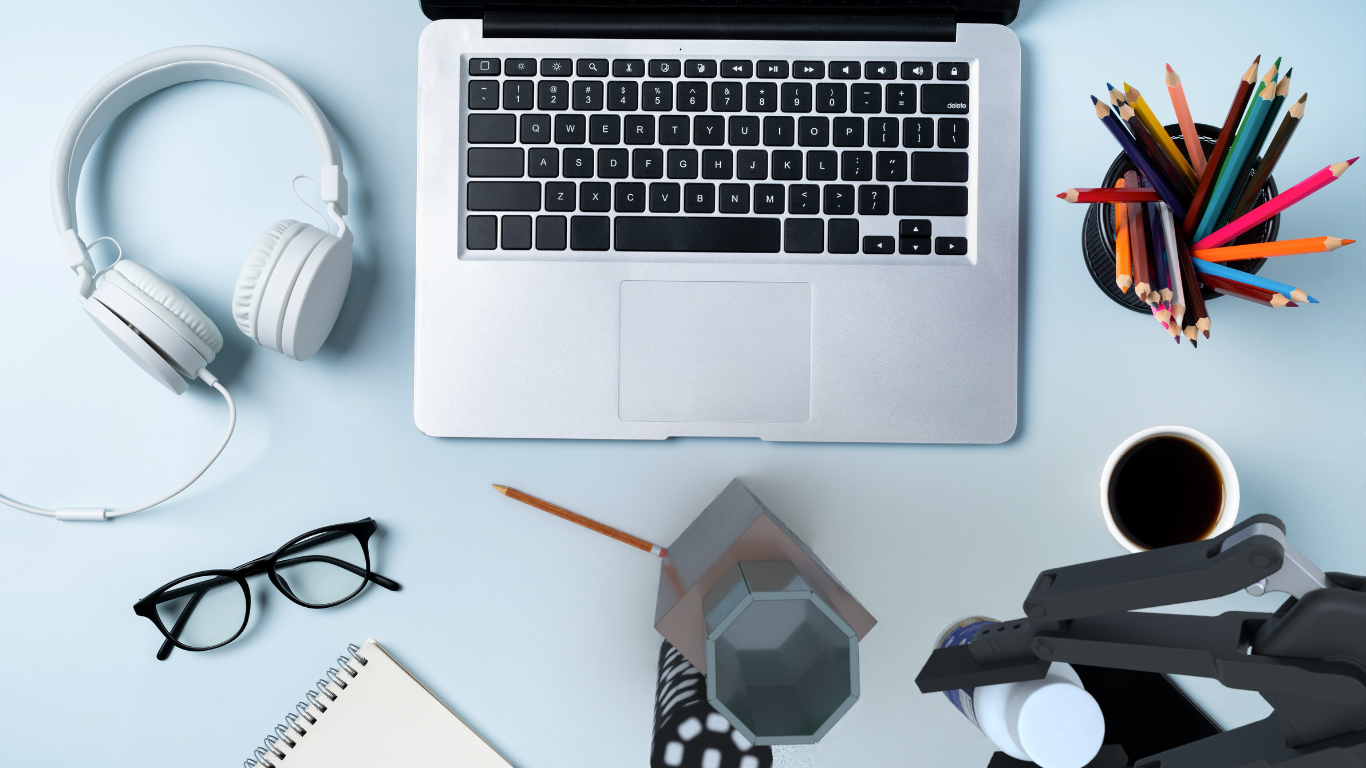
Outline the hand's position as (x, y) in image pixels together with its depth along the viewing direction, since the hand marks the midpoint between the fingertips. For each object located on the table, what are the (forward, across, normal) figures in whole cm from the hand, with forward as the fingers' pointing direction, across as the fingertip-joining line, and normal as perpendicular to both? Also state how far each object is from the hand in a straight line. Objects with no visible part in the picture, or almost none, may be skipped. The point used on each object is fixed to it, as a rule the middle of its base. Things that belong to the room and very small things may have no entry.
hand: (959, 723), depth 39 cm
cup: (+11, +7, -2) cm, 13 cm away
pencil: (+36, +17, -11) cm, 41 cm away
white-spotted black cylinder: (+34, 0, -13) cm, 36 cm away
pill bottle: (+2, 0, -6) cm, 6 cm away
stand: (+28, +7, -19) cm, 34 cm away
